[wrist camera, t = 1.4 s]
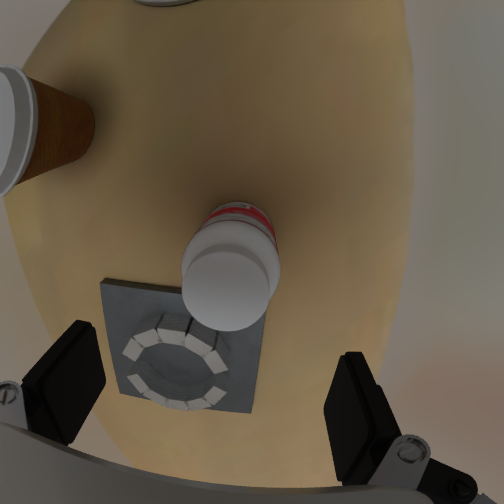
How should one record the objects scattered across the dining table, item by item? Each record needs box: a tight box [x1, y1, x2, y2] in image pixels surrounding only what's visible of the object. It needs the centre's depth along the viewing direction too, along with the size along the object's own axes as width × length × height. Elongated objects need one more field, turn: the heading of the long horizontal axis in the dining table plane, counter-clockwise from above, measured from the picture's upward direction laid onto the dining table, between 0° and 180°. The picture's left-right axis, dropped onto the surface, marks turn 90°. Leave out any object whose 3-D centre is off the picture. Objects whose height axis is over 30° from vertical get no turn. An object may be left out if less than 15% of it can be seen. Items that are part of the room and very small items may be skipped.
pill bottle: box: [181, 202, 280, 331], centre depth 21 cm, size 6×6×11 cm
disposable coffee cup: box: [0, 64, 95, 198], centre depth 17 cm, size 10×10×12 cm
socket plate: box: [100, 278, 266, 413], centre depth 28 cm, size 15×16×4 cm
